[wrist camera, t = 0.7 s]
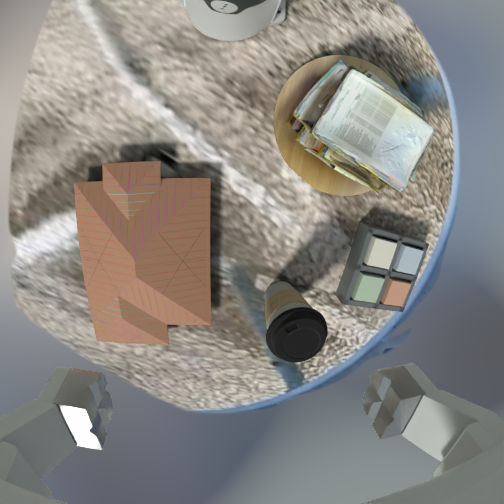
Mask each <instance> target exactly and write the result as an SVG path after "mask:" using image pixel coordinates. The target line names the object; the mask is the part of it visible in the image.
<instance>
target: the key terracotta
mask: <svg viewBox="0 0 504 504" xmlns="http://www.w3.org/2000/svg"><path fill="white" fill-rule="evenodd" d="M410 287H411V283H409V282H408V281H407V280H402V279H397V278H392V277H389V280H388V282H387V285H386V288H385V290H384V293H383V295H382V298H381V300H380V301H381V302H382V303H383V304H386V305H394V306H401V307H402V306H403V304H404V301H405V299H406V297H407V294H408V292H409V289H410Z"/></svg>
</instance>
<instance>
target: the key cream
mask: <svg viewBox="0 0 504 504" xmlns="http://www.w3.org/2000/svg"><path fill="white" fill-rule="evenodd" d="M396 247H397V243H395V242H393V241H391V240H387V239H384V238H380V237H376V236H372V237H371V240H370V243H369V246H368V249H367V252H366V255H365V258H364V261H363V262H364V263H365V264H367V265H370V266H375V267H380V268H385V269H389V267H390V264H391V261H392V258H393V256H394V253H395V250H396Z"/></svg>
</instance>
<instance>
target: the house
mask: <svg viewBox="0 0 504 504" xmlns="http://www.w3.org/2000/svg"><path fill="white" fill-rule="evenodd" d="M102 168H103V181H93V182H79V183H74V189H75V205H76V218H77V228H78V237H79V246H80V254H81V261H82V268H83V274H84V280H85V286H86V291H87V297H88V302H89V307H90V312H91V316H92V321H93V325H94V330H95V334H96V338H97V341H104V342H119V343H137V344H165V345H169V338H168V329H167V325H211V287H210V191H211V178H161V161H143V162H124V163H108V164H102Z"/></svg>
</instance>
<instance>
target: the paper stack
mask: <svg viewBox="0 0 504 504" xmlns="http://www.w3.org/2000/svg"><path fill="white" fill-rule="evenodd" d="M422 116H423V111H422V110H421V109H420V108H419V107H418V106H417V105H416V104H414V103H413V102H411V101H410V100H409V99H408V98H407V97H406V96H405V95H403V94H402V93H401V91H400V89H399V88H398V86H397V85H396V84H395V82H394V81H393V80H392V79H391V78H390V77H389V76H388V75H387V74H386V73H385V72H384V71H383V70H381V69H380V68H379V67H377V66H375V65H374V64H372V63H370V62H368V61H366V60H363V59H360V58H357V57H353V56H347V55H331V56H325V57H321V58H318V59H315V60H312V61H310V62H308V63H307V64H305V65H303V66H302V67H300V68H299V69H298V70H297V71H296V72H294V73H293V74H292V76H291V77H290V78H289V79H288V80H287V82H286V83H285V85H284V86H283V88H282V90H281V92H280V94H279V97H278V99H277V103H276V107H275V113H274V131H275V137H276V141H277V144H278V147H279V150H280V152H281V154H282V156H283V158H284V160H285V161H286V163H287V164H288V166H289V167H290V168H291V169H292V170H294V172H295V173H297V175H298V176H301V177H302V178H303V179H304V180H305V181H306V182H307V183H308V184H310V186H312V187H313V188H315V189H317V190H320V191H322V192H325V193H329V194H333V195H341V196H351V195H358V194H362V193H366V192H369V191H371V190H374V191H376V192H377V193H381V192H382V190H383V188H384V187H385V186H389V187H390V188H392V189H394V190H396V191H398V192H402V190H403V189H404V188H405V187H406V186H407V183H408V180H409V179H410V180H411V181H412V182H414V180H415V174H416V168H417V166H418V165H419V163H420V161H421V159H422V157H423V156H424V154H425V152H426V150H427V149H428V146H429V144H430V141H431V139H432V136H433V128H432V126H431V125H429V124H428V123H427V122H426V121H425V120H424V119H423V118H422Z"/></svg>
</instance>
